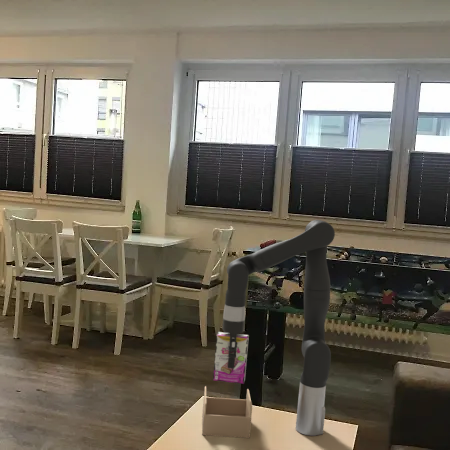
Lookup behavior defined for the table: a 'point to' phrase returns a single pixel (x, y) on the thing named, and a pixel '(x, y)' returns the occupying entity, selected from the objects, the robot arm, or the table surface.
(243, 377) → the candy bar box
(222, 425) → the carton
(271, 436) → the table surface
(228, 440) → the table surface
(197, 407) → the table surface
